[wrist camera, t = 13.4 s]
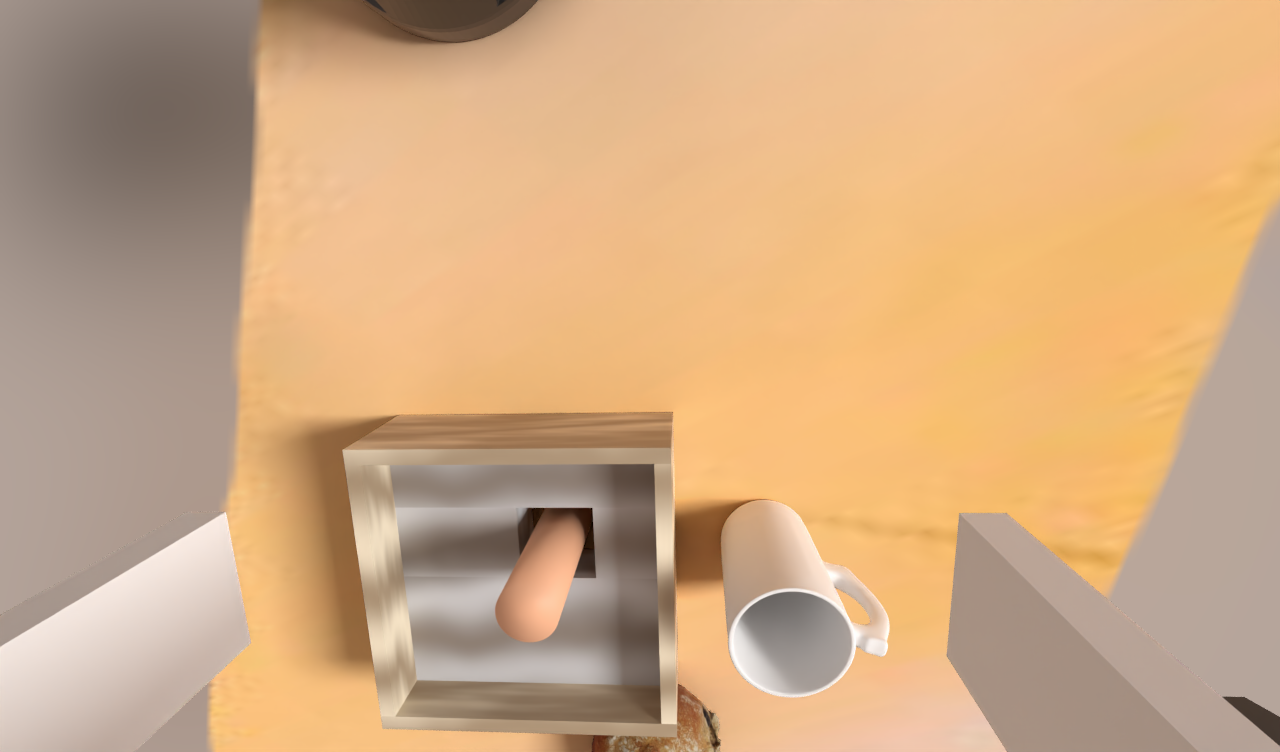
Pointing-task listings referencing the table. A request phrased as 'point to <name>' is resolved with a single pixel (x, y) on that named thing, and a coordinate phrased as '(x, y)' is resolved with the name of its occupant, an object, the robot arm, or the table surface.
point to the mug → (790, 604)
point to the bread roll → (690, 748)
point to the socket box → (486, 555)
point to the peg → (543, 575)
